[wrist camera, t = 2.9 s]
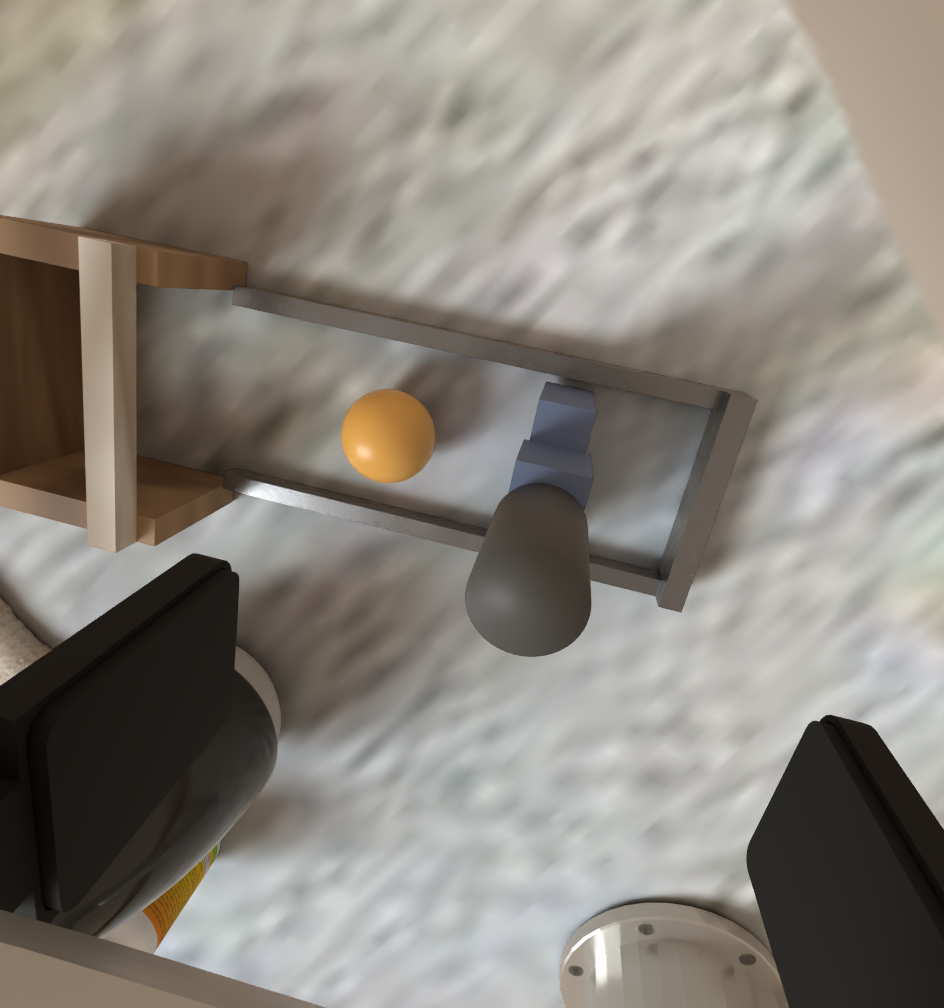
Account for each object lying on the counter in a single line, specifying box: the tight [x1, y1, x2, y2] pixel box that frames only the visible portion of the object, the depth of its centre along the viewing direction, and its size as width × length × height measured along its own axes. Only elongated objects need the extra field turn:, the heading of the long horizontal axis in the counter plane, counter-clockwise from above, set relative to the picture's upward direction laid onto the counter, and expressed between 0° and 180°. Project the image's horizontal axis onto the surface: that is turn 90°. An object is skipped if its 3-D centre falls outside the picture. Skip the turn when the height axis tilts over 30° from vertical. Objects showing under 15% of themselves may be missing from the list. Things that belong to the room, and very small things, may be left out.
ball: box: [341, 389, 435, 483], centre depth 26 cm, size 4×4×4 cm
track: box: [223, 285, 757, 612], centre depth 26 cm, size 22×9×2 cm, turn 79°
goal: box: [0, 215, 247, 553], centre depth 25 cm, size 9×11×7 cm
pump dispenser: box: [50, 646, 281, 939], centre depth 27 cm, size 10×10×15 cm
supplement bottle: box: [103, 841, 221, 954], centre depth 34 cm, size 5×5×10 cm
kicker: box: [465, 382, 597, 657], centre depth 20 cm, size 3×7×13 cm, turn 169°
